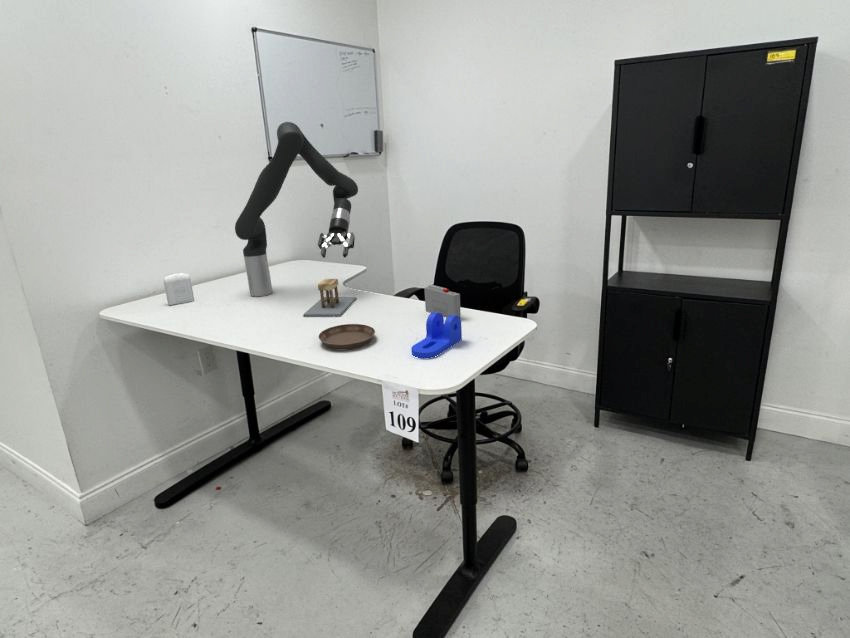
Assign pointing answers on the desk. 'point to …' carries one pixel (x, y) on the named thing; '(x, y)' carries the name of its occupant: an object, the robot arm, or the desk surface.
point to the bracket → (438, 335)
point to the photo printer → (178, 288)
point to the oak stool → (328, 291)
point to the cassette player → (442, 301)
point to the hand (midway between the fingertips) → (333, 256)
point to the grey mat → (328, 311)
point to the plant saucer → (347, 336)
